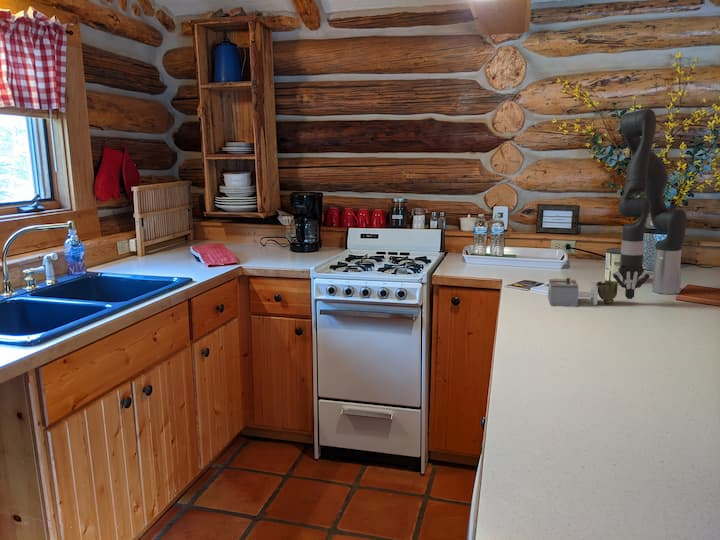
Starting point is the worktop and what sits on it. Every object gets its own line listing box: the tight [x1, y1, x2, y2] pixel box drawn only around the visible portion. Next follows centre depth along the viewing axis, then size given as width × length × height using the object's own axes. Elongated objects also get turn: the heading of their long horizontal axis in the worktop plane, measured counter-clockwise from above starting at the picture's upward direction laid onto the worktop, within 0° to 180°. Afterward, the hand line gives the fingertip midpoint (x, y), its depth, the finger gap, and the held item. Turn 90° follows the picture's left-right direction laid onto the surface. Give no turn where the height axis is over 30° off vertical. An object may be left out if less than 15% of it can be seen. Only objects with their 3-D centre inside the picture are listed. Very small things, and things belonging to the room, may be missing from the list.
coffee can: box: [604, 247, 625, 285], centre depth 251 cm, size 10×10×14 cm
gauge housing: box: [547, 278, 580, 307], centre depth 221 cm, size 10×12×8 cm
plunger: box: [570, 278, 599, 306], centre depth 219 cm, size 10×8×9 cm
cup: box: [595, 279, 619, 305], centre depth 217 cm, size 8×7×8 cm
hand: (629, 298), depth 216 cm, fingers closed
